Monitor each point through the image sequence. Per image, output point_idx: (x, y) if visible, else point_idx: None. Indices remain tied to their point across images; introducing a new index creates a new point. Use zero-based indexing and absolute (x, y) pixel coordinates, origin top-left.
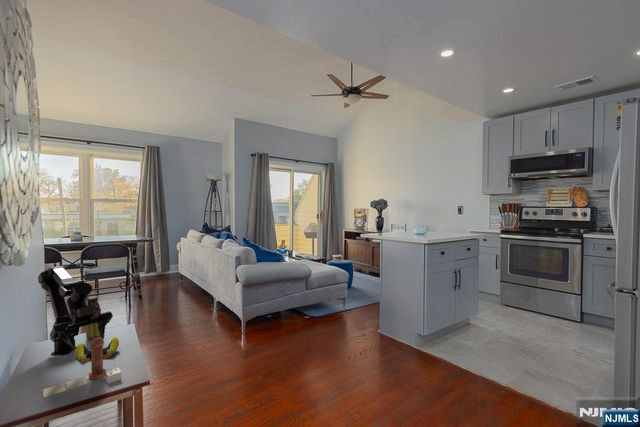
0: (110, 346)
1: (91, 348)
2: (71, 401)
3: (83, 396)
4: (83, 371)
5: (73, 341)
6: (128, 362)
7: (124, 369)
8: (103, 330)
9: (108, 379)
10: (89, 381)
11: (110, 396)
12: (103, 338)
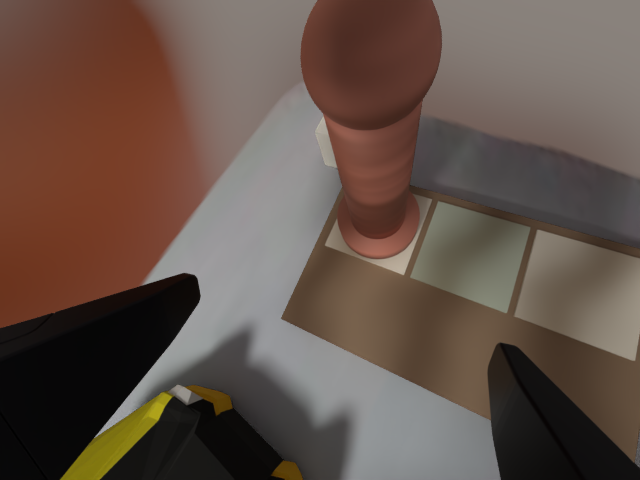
0: (134, 443)
1: (417, 114)
2: (535, 156)
3: (484, 151)
4: (366, 382)
5: (547, 410)
6: (216, 247)
7: (268, 205)
8: (83, 311)
9: None
10: (425, 209)
11: None
12: (192, 275)
